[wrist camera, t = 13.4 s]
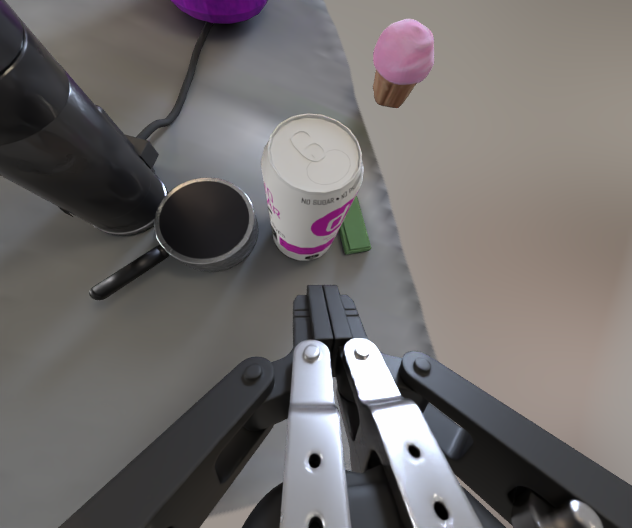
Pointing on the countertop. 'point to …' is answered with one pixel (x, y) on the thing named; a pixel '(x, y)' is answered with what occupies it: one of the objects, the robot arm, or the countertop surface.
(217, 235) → the saucepan
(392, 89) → the cupcake
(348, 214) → the green rectangular block
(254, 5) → the decorative plant
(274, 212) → the supplement can
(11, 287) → the countertop surface
